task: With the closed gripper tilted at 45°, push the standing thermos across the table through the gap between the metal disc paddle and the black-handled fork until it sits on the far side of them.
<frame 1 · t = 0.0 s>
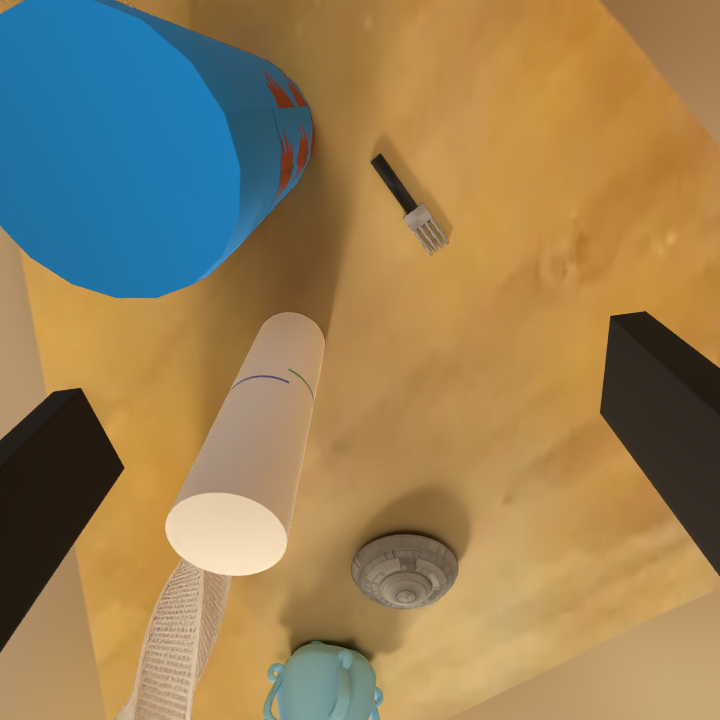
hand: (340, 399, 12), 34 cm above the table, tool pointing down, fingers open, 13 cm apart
cylindrical container: (291, 342, 49), on the table
flying saucer: (403, 560, 66), on the table
skyscraper: (224, 507, 62), on the table
decorative pot: (328, 658, 79), on the table
fork: (408, 204, 42), on the table
thermos: (253, 131, 39), on the table
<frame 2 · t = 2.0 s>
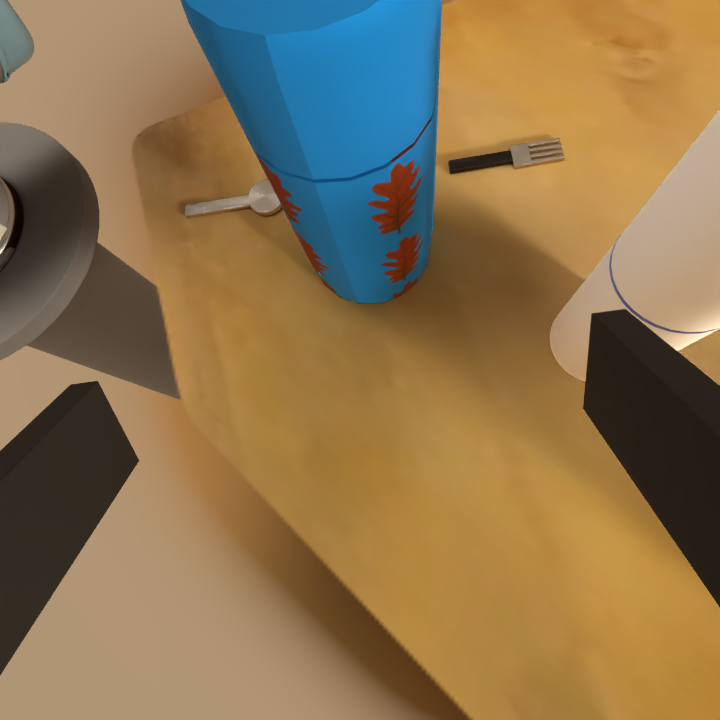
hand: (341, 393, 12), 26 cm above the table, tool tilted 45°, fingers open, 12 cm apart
cylindrical container: (595, 341, 37), on the table
metal disc paddle: (235, 204, 45), on the table
fork: (504, 159, 42), on the table
thermos: (371, 250, 42), on the table
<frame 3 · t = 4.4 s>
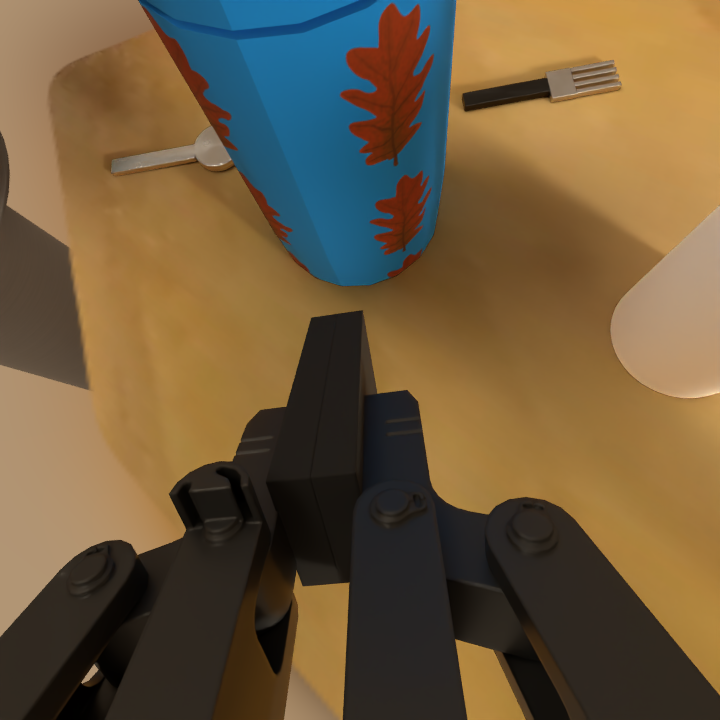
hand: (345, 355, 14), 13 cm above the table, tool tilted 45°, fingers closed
cylindrical container: (676, 336, 26), on the table
metal disc paddle: (178, 158, 33), on the table
fork: (538, 91, 31), on the table
thermos: (358, 215, 31), on the table
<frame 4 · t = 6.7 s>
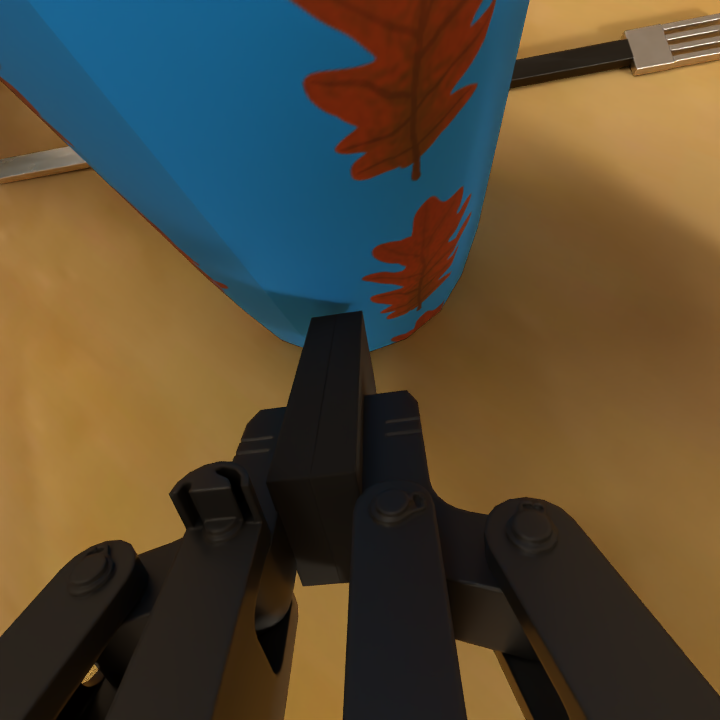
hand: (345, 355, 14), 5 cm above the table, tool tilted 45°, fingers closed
metal disc paddle: (90, 157, 23), on the table
fork: (612, 59, 21), on the table
thermos: (347, 243, 20), on the table, touching gripper
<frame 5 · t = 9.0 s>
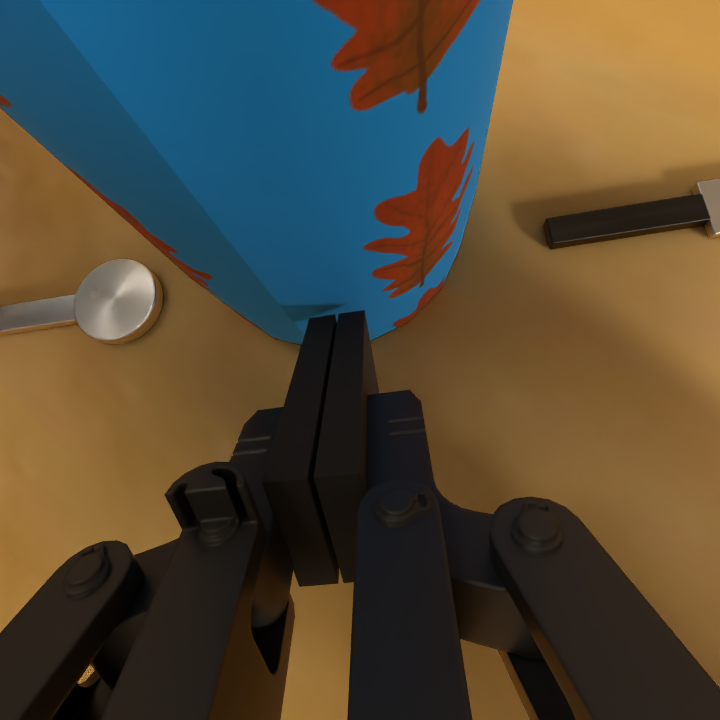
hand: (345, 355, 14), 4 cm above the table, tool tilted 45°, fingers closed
metal disc paddle: (52, 314, 20), on the table
fork: (682, 216, 17), on the table
thermos: (333, 229, 19), on the table, touching gripper
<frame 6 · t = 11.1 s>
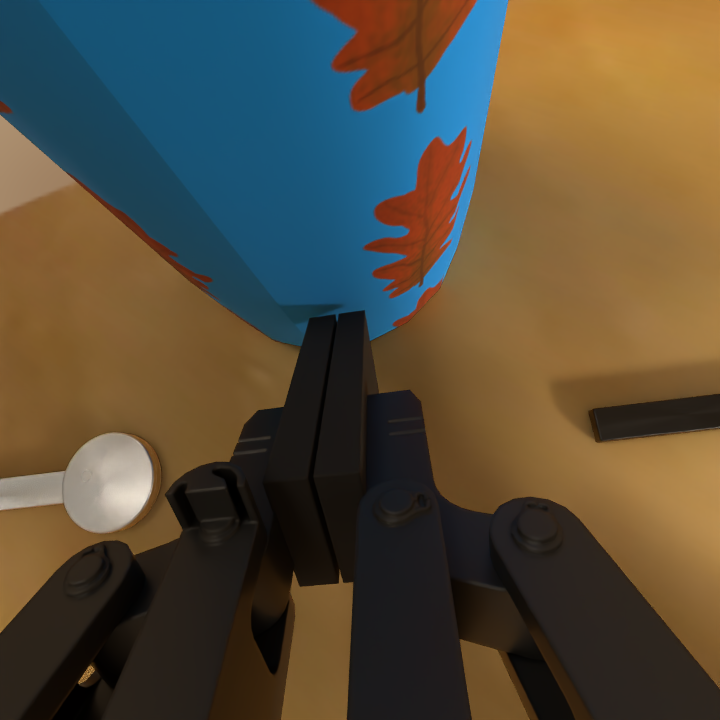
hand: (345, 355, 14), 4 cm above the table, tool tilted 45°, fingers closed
metal disc paddle: (38, 490, 18), on the table
thermos: (331, 231, 19), on the table, touching gripper
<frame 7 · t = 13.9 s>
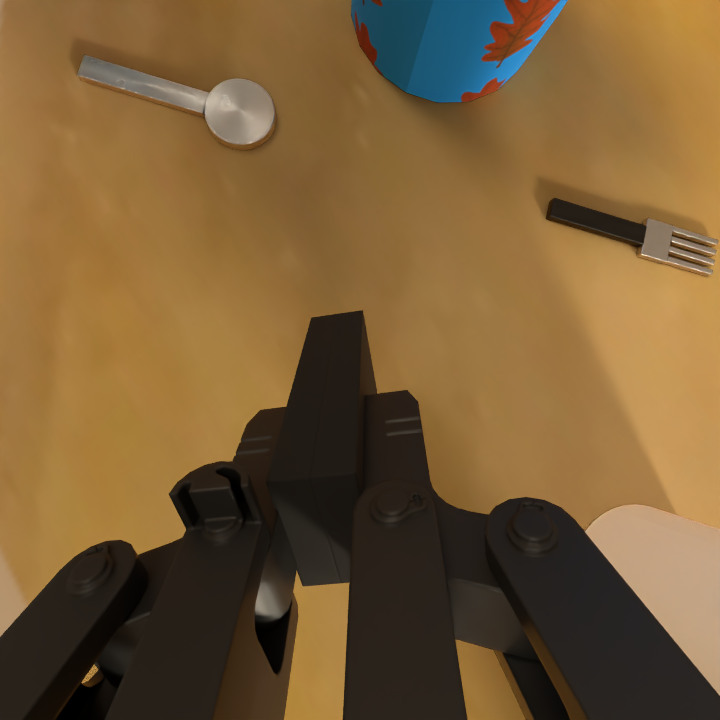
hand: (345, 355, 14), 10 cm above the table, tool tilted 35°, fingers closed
cylindrical container: (633, 571, 25), on the table
metal disc paddle: (181, 99, 24), on the table
fork: (629, 235, 26), on the table
thermos: (442, 17, 26), on the table
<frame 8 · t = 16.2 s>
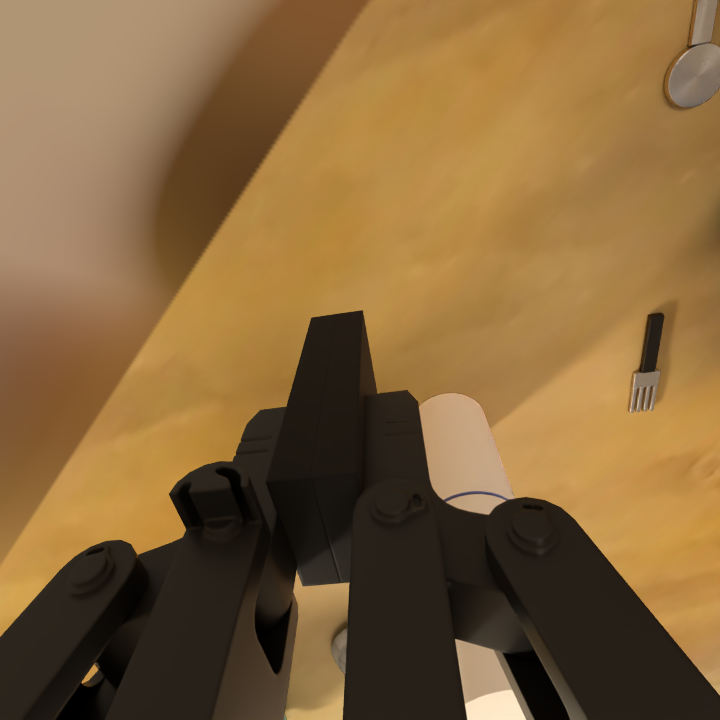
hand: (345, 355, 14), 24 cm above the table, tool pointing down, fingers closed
cylindrical container: (448, 422, 45), on the table
flying saucer: (386, 639, 64), on the table
metal disc paddle: (701, 18, 29), on the table
fork: (646, 364, 41), on the table
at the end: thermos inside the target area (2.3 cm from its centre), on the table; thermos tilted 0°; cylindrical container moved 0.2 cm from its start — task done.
